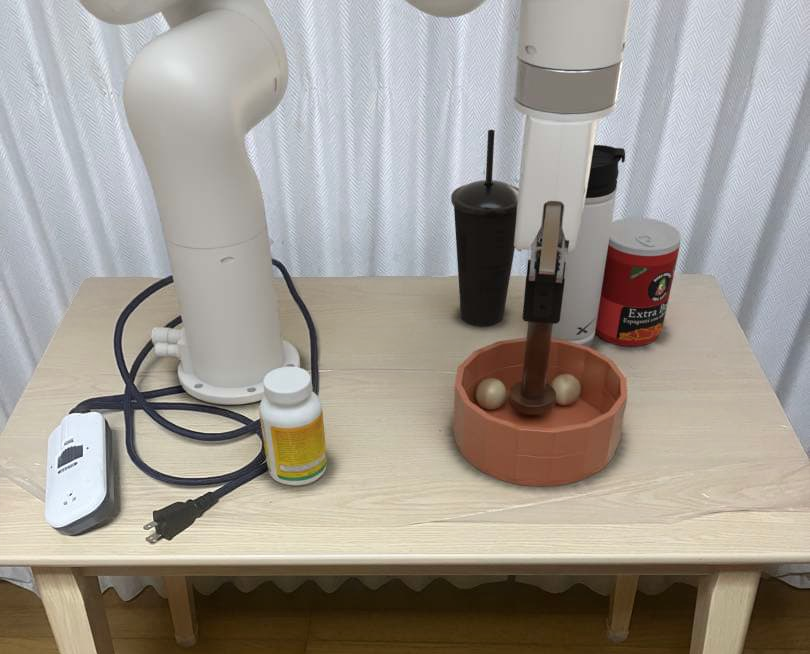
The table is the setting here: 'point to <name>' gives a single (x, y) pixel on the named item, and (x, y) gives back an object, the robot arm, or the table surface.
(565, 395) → the bead
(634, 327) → the canned food
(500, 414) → the bowl
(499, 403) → the bead
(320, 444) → the supplement bottle
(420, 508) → the table surface
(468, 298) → the drinking cup
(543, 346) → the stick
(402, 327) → the table surface
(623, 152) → the travel mug
